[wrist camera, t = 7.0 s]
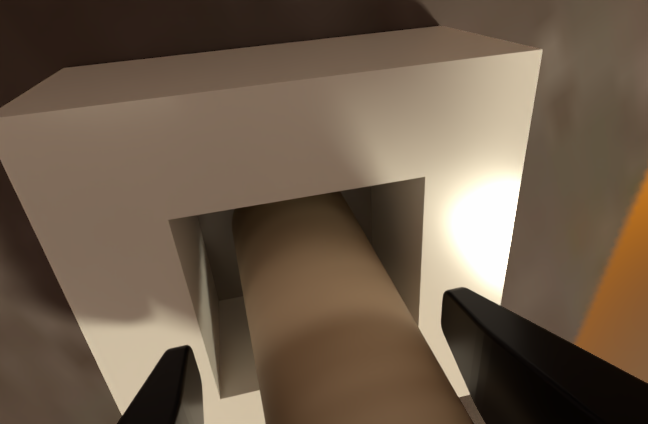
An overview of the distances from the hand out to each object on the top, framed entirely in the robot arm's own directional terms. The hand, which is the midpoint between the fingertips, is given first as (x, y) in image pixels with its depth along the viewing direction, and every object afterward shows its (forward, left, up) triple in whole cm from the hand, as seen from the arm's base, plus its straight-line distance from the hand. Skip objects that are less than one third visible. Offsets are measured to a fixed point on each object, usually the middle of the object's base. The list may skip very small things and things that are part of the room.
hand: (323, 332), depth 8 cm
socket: (0, 0, -5) cm, 5 cm away
